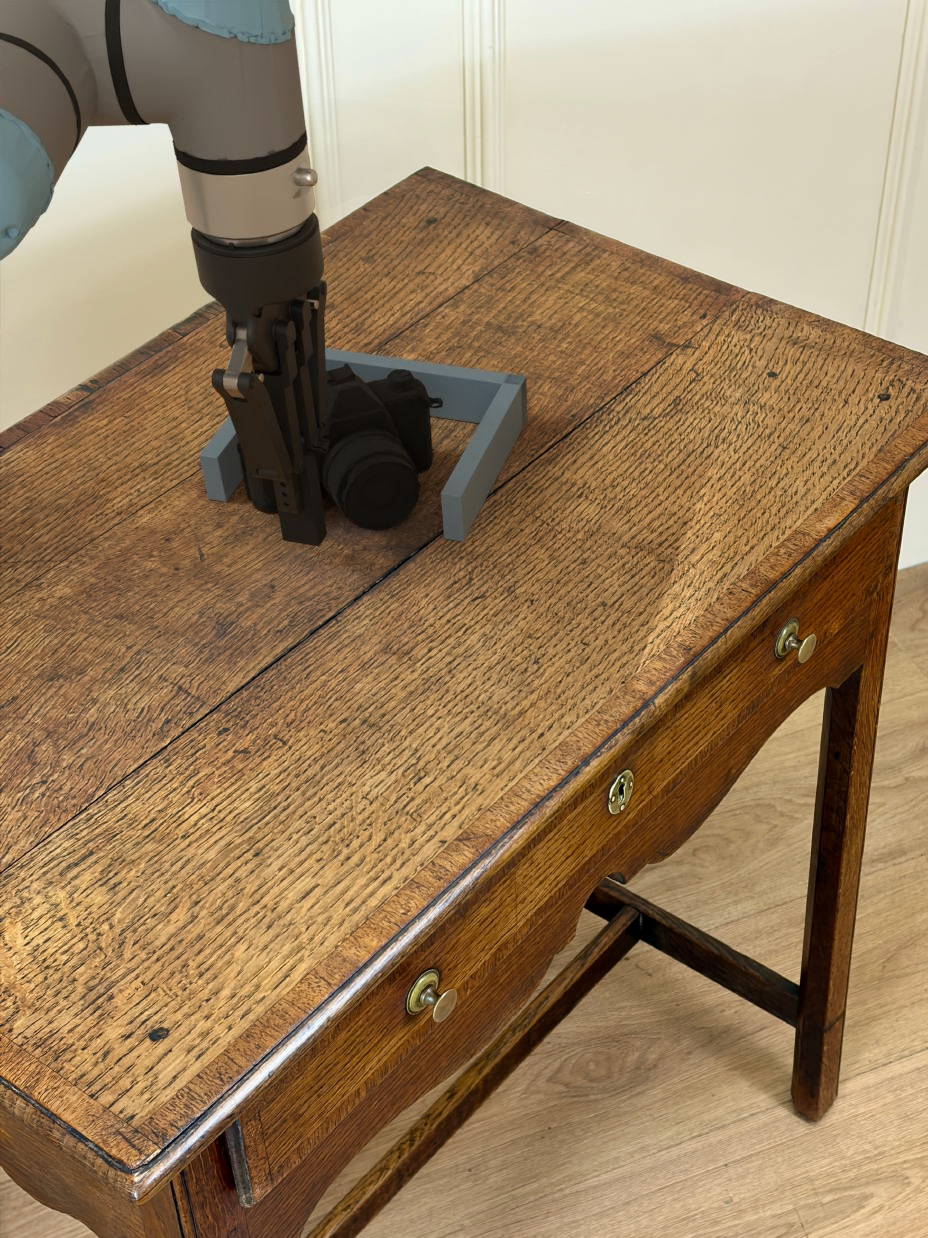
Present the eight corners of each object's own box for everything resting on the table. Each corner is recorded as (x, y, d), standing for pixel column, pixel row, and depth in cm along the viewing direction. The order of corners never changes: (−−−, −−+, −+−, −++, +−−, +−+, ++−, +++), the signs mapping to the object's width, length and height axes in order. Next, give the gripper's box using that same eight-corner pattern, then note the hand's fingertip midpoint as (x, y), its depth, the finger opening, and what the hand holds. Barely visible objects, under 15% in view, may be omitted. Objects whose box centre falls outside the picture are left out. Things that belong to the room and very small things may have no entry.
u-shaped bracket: (208, 499, 109) (198, 454, 106) (293, 385, 120) (286, 342, 117) (463, 542, 104) (460, 496, 101) (527, 419, 115) (526, 375, 112)
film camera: (277, 564, 103) (257, 458, 97) (240, 490, 109) (219, 386, 103) (477, 508, 107) (470, 403, 101) (429, 440, 113) (421, 337, 107)
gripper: (268, 279, 80) (320, 605, 97) (353, 176, 89) (387, 491, 106) (144, 263, 82) (216, 586, 99) (240, 164, 91) (291, 476, 107)
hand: (305, 536), depth 102 cm, fingers closed
